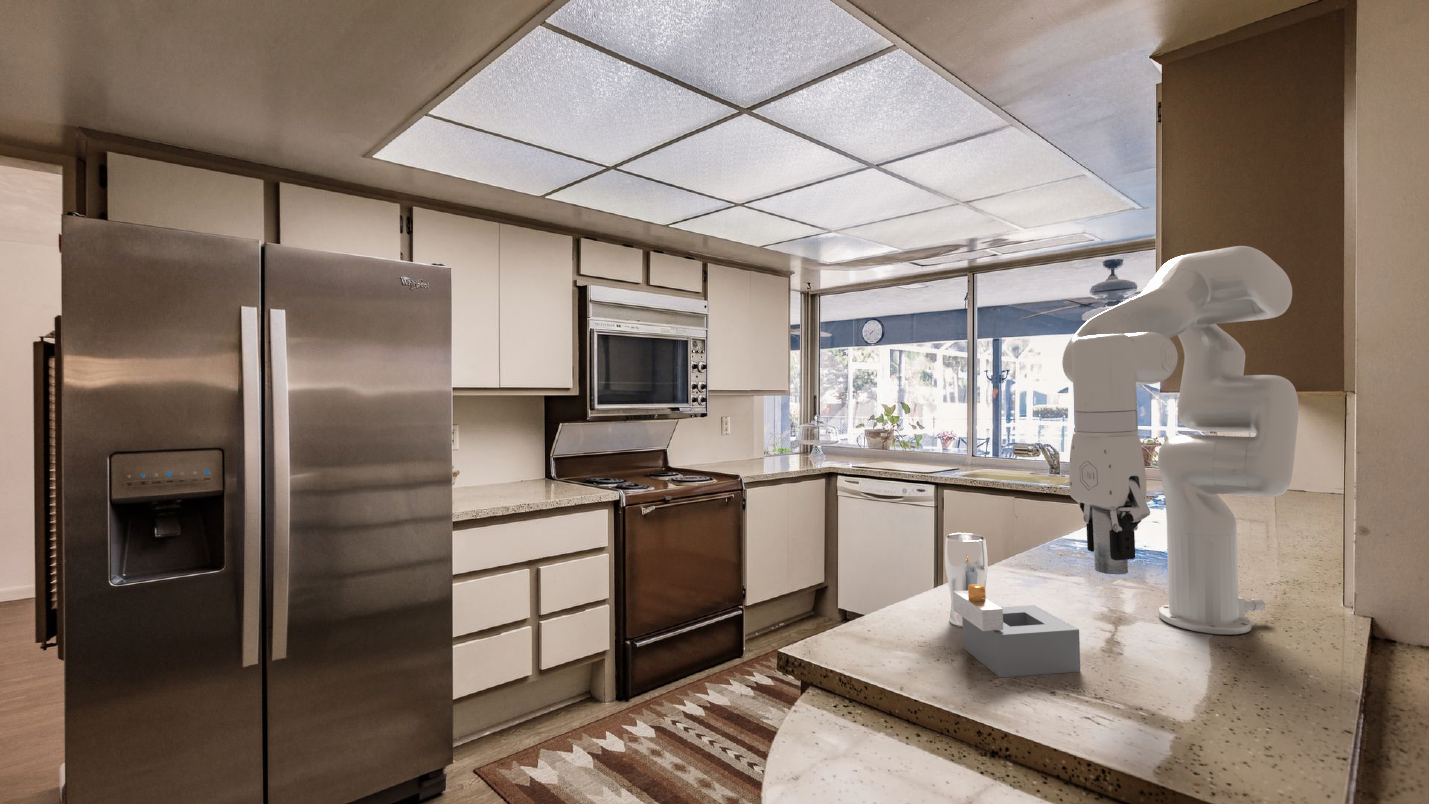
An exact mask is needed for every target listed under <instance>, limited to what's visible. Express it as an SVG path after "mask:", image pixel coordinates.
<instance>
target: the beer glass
mask: <svg viewBox="0 0 1429 804" xmlns="http://www.w3.org/2000/svg"><path fill="white" fill-rule="evenodd" d="M986 539H987V538H986V537H985V536H984V535H981V534H977V533H967V532H963V533H962V532H956V533H955V532H954V533H948V534H947V535H945V541H944V542H945V547H944V565H945V566H944V567H945V573H946V579H947V583H948V588H949V594H950V601H951V603H950V604H951V605H950V612H949V613H950V614H949V623H951V625H952V626H955V627H957V628H958V627H959V628H962V629H963V624H962V616H961V615H960V614H958V613H957V612H955V611H954V591H968V585H970V584H979V585H983V586H985V588H987V587H986V586H987V579H988V571H989V570H988V569H989V568H988V565H989V564H988V562H989V561H988V551H987V549H988V548H987V542H986Z"/></svg>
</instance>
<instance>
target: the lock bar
mask: <svg viewBox="0 0 1429 804" xmlns="http://www.w3.org/2000/svg"><path fill="white" fill-rule="evenodd" d="M986 597H987V596H986V587H985V586H983V585H979V584H970V585H968V591H954V611H955V612H957V613H958V614H960V615H961V616H962V617H964V618H965V619H967V620H968V621H969V622H971V623H972V624H974V625H975V626H976V627H978V628H979V629H981V630H982V631H994V630H1003V609H1002V608H1000V606H999V605H997V604H995V603H994V602H992V601H990V600H989V599H987V598H986Z"/></svg>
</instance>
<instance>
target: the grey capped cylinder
mask: <svg viewBox="0 0 1429 804" xmlns="http://www.w3.org/2000/svg"><path fill="white" fill-rule="evenodd" d="M1088 506H1089V507H1092V516H1093V541H1094V552H1093V562H1094V564H1093V565H1094V571H1096V572H1098V573H1101V574H1107V575H1125V574H1128V573H1129V561H1128V560H1129V559H1128V560H1113V559H1111V556H1110V530H1114V529H1113V526H1112V520H1111V514H1110V510H1109V509H1104V508H1100V507H1096V506H1094V505H1089V504H1088ZM1119 507H1127V502H1125V504H1124V506H1119ZM1125 514H1126V512H1120V516H1121V518H1122V517H1123V516H1124V515H1125Z"/></svg>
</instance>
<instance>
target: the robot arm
mask: <svg viewBox="0 0 1429 804" xmlns="http://www.w3.org/2000/svg"><path fill="white" fill-rule="evenodd" d="M1292 299H1293V286H1292V283H1291V281H1290V277H1289V276H1288V274H1287V273H1286V271H1284V269H1283V268H1282V267H1281V266H1279V264H1277V263H1276V262H1275V261H1274V260H1273V259H1272V258H1271V257H1269V256H1268V255H1267V254H1266V253H1264V252H1263V251H1261V250H1259V249H1257V248H1256V247H1252V246H1248V245H1237V246H1236V245H1235V246H1229V247H1223V248H1219V249H1213V250H1212V249H1211V250H1205V251H1199V252H1193V253H1187V254H1183V255H1180V256H1176V257H1174V258H1172V259H1170V260H1168V261H1166V262H1165V263H1164V264H1163V265H1162V266H1160V268H1159V269H1158V271H1156V273H1155V275H1153V276H1152V278H1151V279H1150V280H1149V281H1148V283H1147V284H1146V285H1145V286H1144V287H1143V289H1142V290H1141V292H1140V293H1139V294H1138V295H1137V296H1134V297H1132V298H1129V299H1126V300H1125V301H1123V302H1121V303H1119V304H1117V305H1114V306H1113V307H1111V308H1109V309H1107V310H1106V309H1105V311H1102V312H1101V313H1099V314H1097V315H1095V316H1093V317H1091V318H1089V319H1088V320H1087V321H1086V322H1084V323H1083V324H1082V325H1081V326H1080V327H1079V328H1078V330H1077V331H1075V333H1074V335H1072V337H1071V338H1070V340H1069V341H1068V343H1067V345H1066V347H1065V350H1064V352H1063V356H1062V364H1061V365H1062V369H1063V373H1064V375H1065V377H1066V378H1067V379H1068V380H1069V381H1070V382H1071V383H1072V387H1073V389H1072V390H1073V409H1074V411H1073V412H1074V413H1073V416H1074V432H1073V433H1072V438H1071V443H1070V451H1069V468H1068V470H1069V471H1068V473H1069V474H1068V477H1069V478H1068V479H1069V481H1068V483H1069V485H1068V486H1069V487H1068V488H1069V496H1070V497H1071V498H1072V499H1073V501H1074V500H1075V502H1076V503H1077V504H1078V505H1079V507H1080V510H1081V512H1082V513H1083V516H1082V517H1083V521H1084V522H1085V523H1086V524H1085V525H1086V542H1087V543H1086V545H1087V547H1086V549H1087V550H1088V551H1089V552H1091V553H1092V552H1093V553H1094V541H1093V516H1092V507H1089V506H1088V504H1089V505H1094V506H1096V507H1100V508H1104V509H1109V510H1110V514H1111V520H1112V526H1113V529H1114V530H1110V556H1111V559H1113V560H1134V559H1135V558H1136V542H1135V541H1136V538H1135V537H1136V536H1135V531H1137V530H1138V529H1139V526H1138V525H1139V524H1141V522H1142V520H1144V519H1146V518H1147V517H1148V516H1149V517H1150V515H1151V510H1150V508H1149V505H1148V503H1147V495H1148V494H1147V477H1146V476H1147V475H1146V474H1147V473H1146V466H1145V459H1144V454H1143V448H1142V447H1143V446H1142V441H1141V439H1140V434H1139V424H1138V422H1139V421H1138V403H1137V401H1138V400H1137V399H1138V398H1137V386H1142V385H1143V386H1145V385H1154V384H1158V383H1161V382H1163V381H1165V380H1167V379H1168V378H1170V377H1171V376H1172V374H1173V373H1174V372H1175V370H1176V368H1177V365H1178V359H1179V354H1178V351H1177V348H1176V344H1175V343H1174V342H1173V341H1172V340H1171V338H1174V337H1175V336H1177V337H1178V340H1179V341H1180V343H1181V346H1182V350H1183V354H1184V361H1183V368H1182V374H1181V380H1180V388H1179V395H1178V402H1177V403H1178V404H1177V417H1178V420H1179V422H1180V423H1181V425H1183V426H1184V427H1185V428H1187V429H1190V430H1193V431H1198V432H1209V433H1211V432H1214V433H1253V434H1255V436H1236V435H1235V436H1233V435H1232V436H1230V435H1213V434H1211V435H1206V434H1205V435H1203V434H1186V435H1180V436H1179V435H1178V436H1175V437H1171V438H1169V439H1168V440H1166V441H1165V442H1163V444H1162V445H1161V446H1160V448H1159V450H1158V454H1157V465H1158V469H1159V474H1160V478H1161V482H1162V487H1163V491H1164V492H1163V493H1164V498H1165V499H1164V500H1165V512H1166V513H1165V514H1166V544H1167V545H1166V547H1167V549H1166V550H1167V579H1168V580H1167V583H1168V589H1167V590H1168V604H1165V605H1162V606H1160V607H1159V608H1158V610H1157V612H1158V613H1157V616H1158V617H1159V618H1160V619H1161V620H1162V621H1163V622H1165V623H1168V624H1170V625H1171V626H1175V627H1177V628H1181V629H1185V630H1190V631H1192V632H1193V631H1194V632H1198V633H1203V634H1213V635H1228V636H1230V635H1240V634H1241V635H1242V634H1245V633H1248V632H1250V631H1251V630H1252V628H1253V626H1252V621H1251V620H1250V619H1249V618H1248V617H1246V616H1245V615H1246V613H1248V612H1249V611H1253V612H1256V611H1263V610H1265V608H1266V604H1265V601H1264V600H1263V598H1262V599H1261V598H1259V597H1258V598H1257V597H1256V598H1247V599H1245V598H1244V597H1243V596H1240V595H1239V569H1238V568H1239V567H1238V565H1239V564H1238V524H1237V520H1236V518H1235V515H1234V513H1233V511H1232V510H1231V509H1230V507H1229V506H1228V505H1227V504H1226V503H1225V501H1224V500H1223V499H1222V498H1221V497H1220V495H1232V496H1233V495H1235V496H1245V497H1246V496H1247V497H1259V498H1275V497H1279V496H1282V495H1283V494H1285V493H1286V492H1287V491H1288V489H1289V487H1290V485H1291V482H1292V478H1293V472H1294V462H1295V453H1296V444H1297V433H1298V424H1299V410H1300V409H1299V408H1300V405H1299V399H1298V398H1299V397H1298V394H1297V391H1296V388H1295V386H1294V384H1293V383H1292V382H1291V381H1290V380H1289V379H1287V378H1285V377H1284V376H1281V375H1276V374H1253V375H1252V374H1250V375H1247V374H1246V375H1244V373H1245V363H1246V352H1245V349H1244V348H1243V346H1242V345H1241V344H1240V343H1239V342H1238V341H1237V340H1236V339H1235V338H1234V337H1232V336H1231V335H1230V334H1229V333H1228V332H1226V331H1225V330H1223V329H1222V328H1221V327H1220V326H1218V324H1228V323H1238V322H1239V323H1240V322H1241V323H1242V322H1249V321H1250V322H1251V321H1262V320H1269V319H1274V318H1278V317H1279V316H1281V315H1283V314H1284V313H1286V312H1287V310H1288V309H1289V308H1290V305H1291V303H1292ZM1125 502H1127V507H1119V506H1124V504H1125ZM1120 512H1126V514H1125V515H1124V516H1123V517H1122V518H1121V516H1120Z"/></svg>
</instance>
